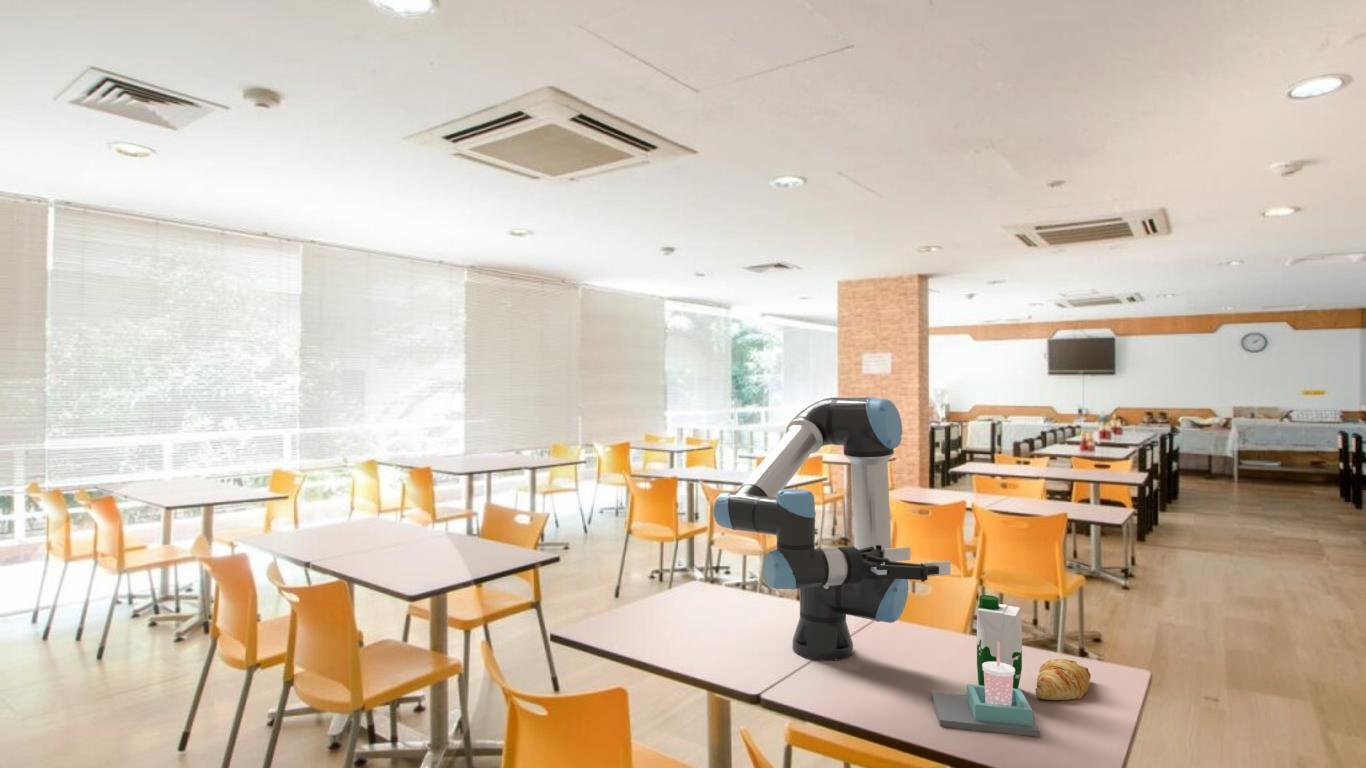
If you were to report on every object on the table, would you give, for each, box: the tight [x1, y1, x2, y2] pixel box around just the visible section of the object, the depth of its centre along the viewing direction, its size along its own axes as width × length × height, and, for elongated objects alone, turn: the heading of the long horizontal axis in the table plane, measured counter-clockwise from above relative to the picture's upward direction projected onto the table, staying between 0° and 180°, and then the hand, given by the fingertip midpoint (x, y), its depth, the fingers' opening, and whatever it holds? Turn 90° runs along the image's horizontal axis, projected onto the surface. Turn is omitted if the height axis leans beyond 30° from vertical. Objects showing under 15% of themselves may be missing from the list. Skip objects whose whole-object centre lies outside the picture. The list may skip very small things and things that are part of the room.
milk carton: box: [976, 594, 1023, 689], centre depth 158 cm, size 9×9×20 cm
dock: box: [931, 683, 1041, 738], centre depth 145 cm, size 18×14×4 cm
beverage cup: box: [982, 642, 1015, 706], centre depth 144 cm, size 6×6×14 cm
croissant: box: [1035, 658, 1091, 701], centre depth 158 cm, size 21×10×8 cm, turn 128°
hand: (928, 560), depth 151 cm, fingers open, 13 cm apart
